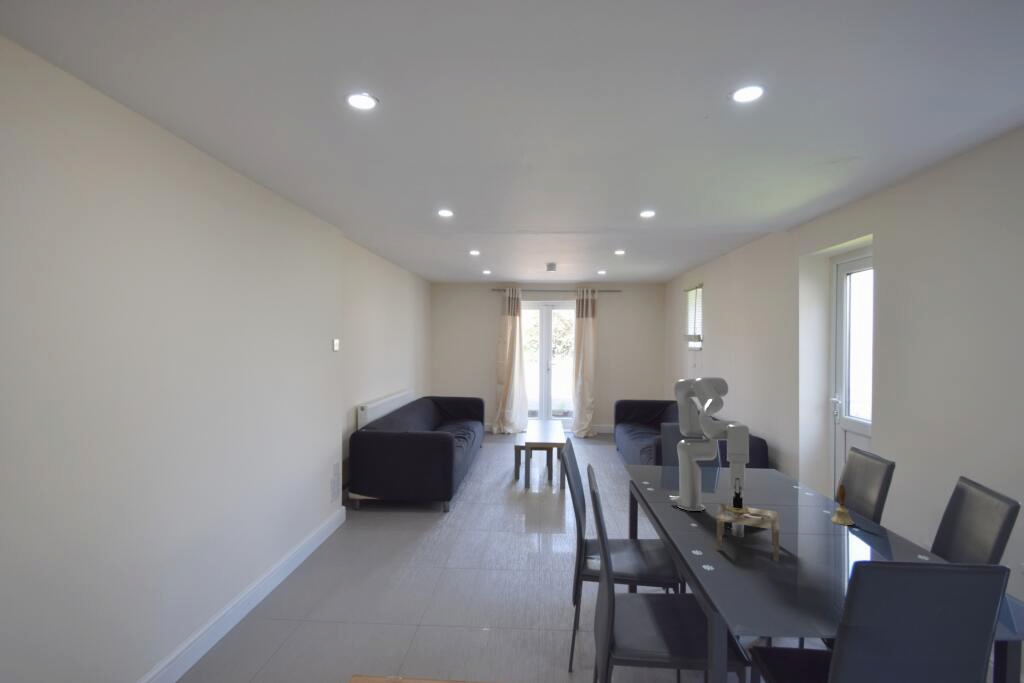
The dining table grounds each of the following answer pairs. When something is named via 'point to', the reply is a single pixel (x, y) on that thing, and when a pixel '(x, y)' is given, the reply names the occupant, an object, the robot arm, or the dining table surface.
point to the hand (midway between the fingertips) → (737, 505)
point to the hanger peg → (738, 528)
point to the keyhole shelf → (750, 524)
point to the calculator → (746, 527)
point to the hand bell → (842, 510)
